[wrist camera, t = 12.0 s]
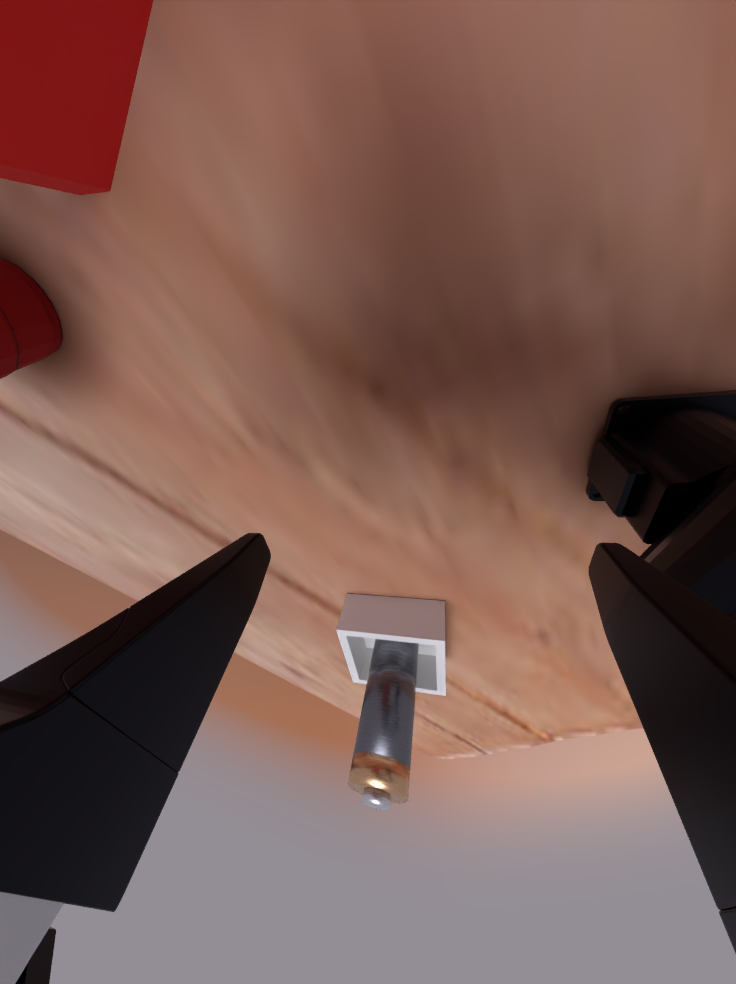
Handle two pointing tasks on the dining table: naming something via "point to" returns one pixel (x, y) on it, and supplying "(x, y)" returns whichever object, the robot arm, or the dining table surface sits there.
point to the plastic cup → (24, 321)
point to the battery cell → (386, 726)
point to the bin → (395, 635)
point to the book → (67, 89)
